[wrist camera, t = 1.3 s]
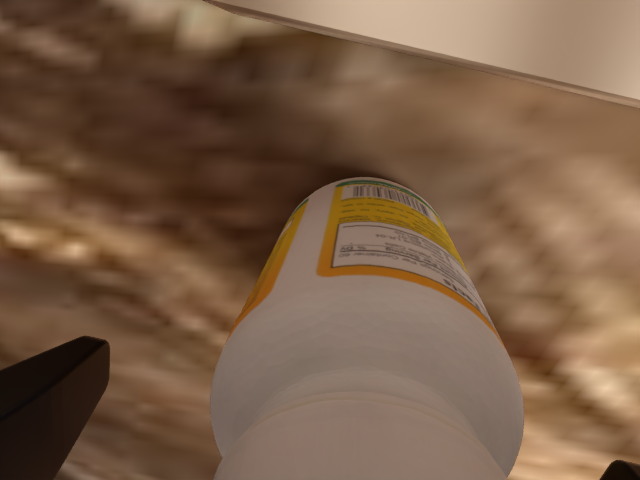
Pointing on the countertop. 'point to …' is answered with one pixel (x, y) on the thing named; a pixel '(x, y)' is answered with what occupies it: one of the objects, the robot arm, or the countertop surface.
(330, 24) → the socket block
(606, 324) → the countertop surface
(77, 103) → the countertop surface
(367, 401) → the supplement bottle
